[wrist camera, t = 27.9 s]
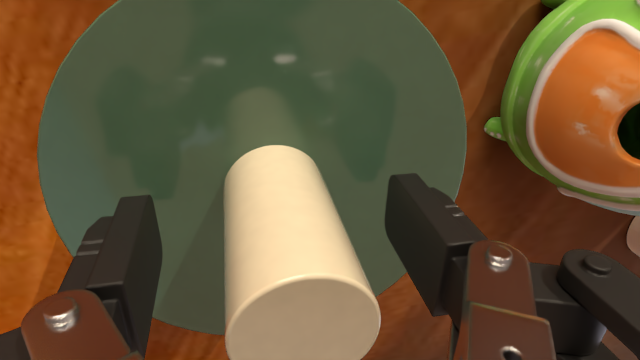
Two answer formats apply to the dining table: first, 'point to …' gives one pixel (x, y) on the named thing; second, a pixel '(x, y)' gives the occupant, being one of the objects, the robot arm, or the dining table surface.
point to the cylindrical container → (634, 236)
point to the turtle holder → (579, 102)
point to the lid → (255, 157)
